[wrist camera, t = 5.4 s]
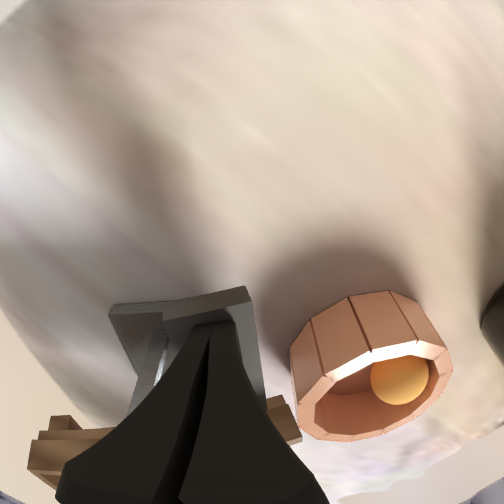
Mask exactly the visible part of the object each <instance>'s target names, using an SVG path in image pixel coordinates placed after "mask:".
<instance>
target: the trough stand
mask: <svg viewBox="0 0 504 504" xmlns="http://www.w3.org/2000/svg"><path fill="white" fill-rule="evenodd" d="M176 301H178V300H176ZM168 302H173V301H162V302H148V303H133V304H117V305H113V306H112V308H111V310H110V312H109V314H108V316H109V318H110V320H111V322H112V325H113V327H114V329H115V331H116V333H117V335H118V337H119V340H120V342H121V344H122V346H123V348H124V350H125V352H126V354H127V356H128V358H129V360H130V362H131V364H132V366H133V367H134V369H135V371H136V373H137V375H138V380H137V383H136V387H135V390H134V393H133V397H132V400H131V404H130V407H129V411H128V414H127V416H128V415H129V414H130V413H131V412H132V411H133V410H134V409H135V408H136V407H137V406H138V405H139V404H140V403H141V402H142V401H143V399H144V398H145V397H146V396H147V395H148V394H149V392H150V391H151V390H152V389H153V388H154V386H155V385H156V384H157V382H158V381H159V380H160V378H161V377H162V376H163V374H164V373H165V371H166V370H167V369H168V367H169V366H170V364H171V363H172V361H173V360H174V358H175V357H176V355H175V352H174V350H173V347H172V345H171V342H170V339H169V337H168V334H167V331H166V328H165V326H164V323H163V304H164V303H168Z"/></svg>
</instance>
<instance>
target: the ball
mask: <svg viewBox="0 0 504 504" xmlns="http://www.w3.org/2000/svg"><path fill="white" fill-rule="evenodd" d="M428 377H429V367H428V363H427V361H426V359H425V358H423V357H419V356H415V355H411V354H409V355H405V356H401V357H396V358H392V359H387V360H382V361H377V362H374V364H373V366H372V369H371V374H370V381H371V386H372V389H373V391H374V393H375V394H376V395H377V397H378V398H380V399H381V400H382V401H384V402H386V403H389V404H394V405H400V404H405V403H408V402H410V401H412V400H414V399H415V398H416V397H418V396H419V395H420V394H421V392H422V391H423V390H424V388H425V386H426V384H427V381H428Z"/></svg>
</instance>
